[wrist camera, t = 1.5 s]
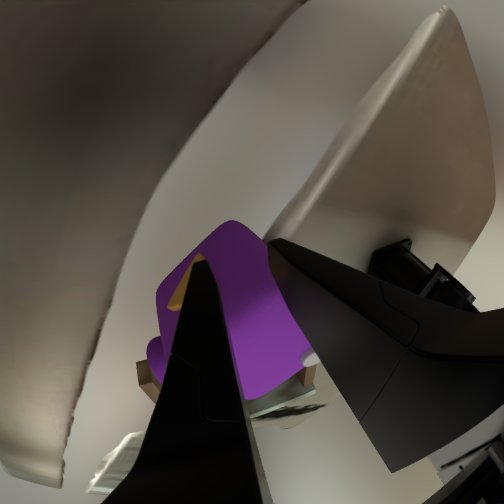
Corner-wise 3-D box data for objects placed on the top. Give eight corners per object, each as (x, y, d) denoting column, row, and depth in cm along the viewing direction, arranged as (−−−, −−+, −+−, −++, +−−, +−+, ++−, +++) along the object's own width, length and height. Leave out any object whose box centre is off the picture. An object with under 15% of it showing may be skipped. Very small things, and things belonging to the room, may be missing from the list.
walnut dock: (310, 307, 31) (328, 332, 28) (303, 372, 40) (315, 393, 37) (136, 362, 27) (140, 393, 24) (178, 414, 36) (184, 437, 33)
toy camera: (124, 322, 23) (134, 423, 16) (206, 196, 20) (257, 287, 12) (217, 348, 30) (248, 428, 22) (301, 253, 26) (364, 331, 18)
